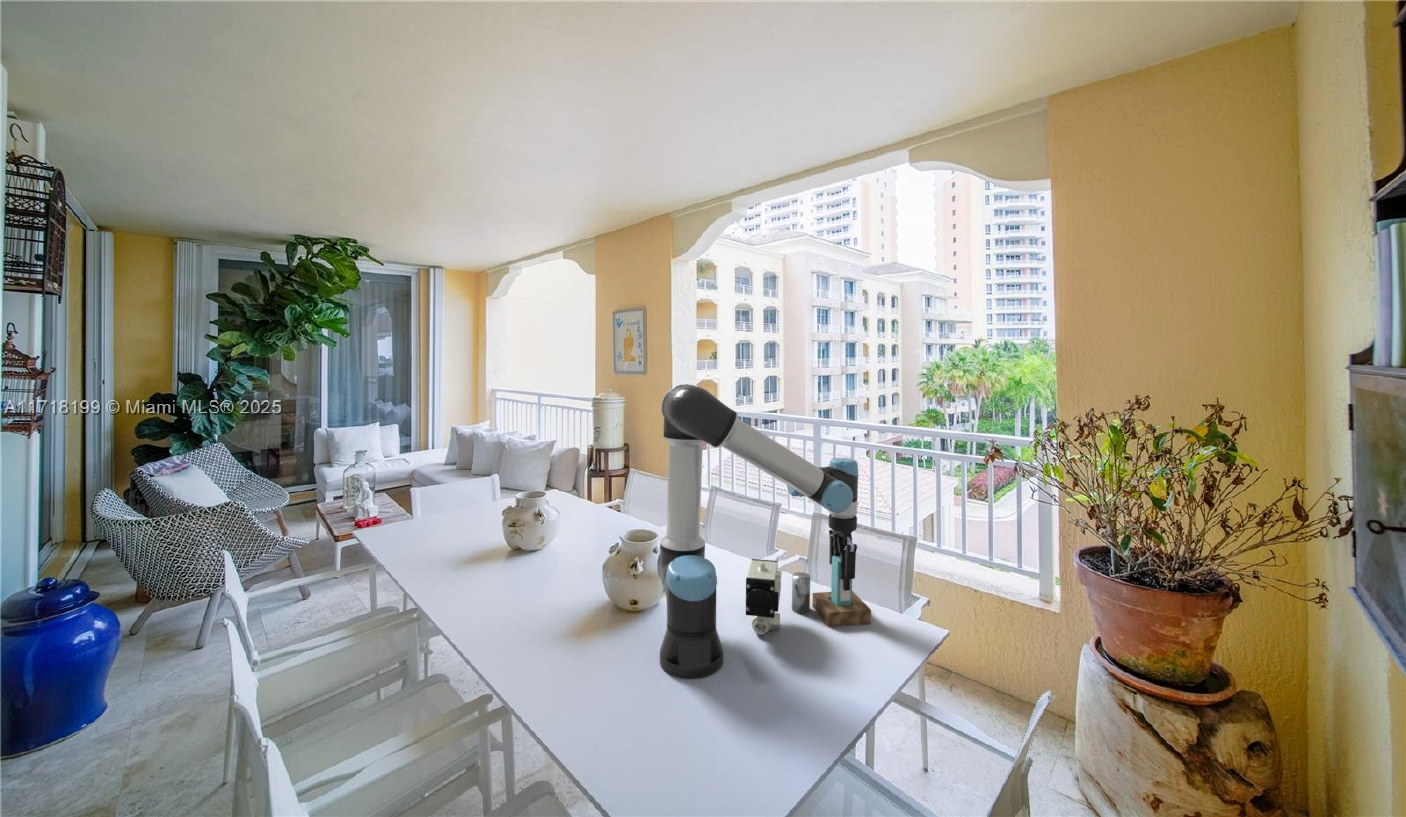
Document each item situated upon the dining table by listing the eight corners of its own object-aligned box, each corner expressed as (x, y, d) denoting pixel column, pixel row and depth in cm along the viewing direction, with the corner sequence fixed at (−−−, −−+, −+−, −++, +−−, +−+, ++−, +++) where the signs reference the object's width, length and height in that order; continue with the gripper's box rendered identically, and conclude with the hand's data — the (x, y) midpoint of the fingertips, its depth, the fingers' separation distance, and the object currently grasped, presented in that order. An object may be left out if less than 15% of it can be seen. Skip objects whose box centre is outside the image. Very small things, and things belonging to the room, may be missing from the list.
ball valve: (778, 648, 128) (779, 578, 126) (744, 644, 129) (744, 575, 128) (782, 613, 145) (783, 552, 144) (752, 610, 147) (752, 550, 145)
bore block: (828, 627, 138) (828, 612, 137) (812, 606, 150) (812, 592, 149) (870, 623, 139) (871, 609, 139) (851, 603, 151) (851, 590, 151)
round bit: (795, 614, 145) (795, 580, 144) (789, 606, 150) (790, 572, 149) (812, 613, 145) (812, 578, 145) (806, 605, 150) (806, 571, 149)
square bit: (837, 607, 142) (837, 561, 141) (831, 600, 146) (831, 556, 145) (851, 606, 142) (852, 560, 141) (845, 599, 147) (846, 555, 145)
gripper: (870, 523, 134) (868, 609, 136) (842, 505, 151) (841, 582, 153) (842, 524, 133) (840, 611, 135) (818, 506, 150) (817, 584, 152)
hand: (841, 596), depth 144 cm, fingers closed on square bit, 4 cm apart
